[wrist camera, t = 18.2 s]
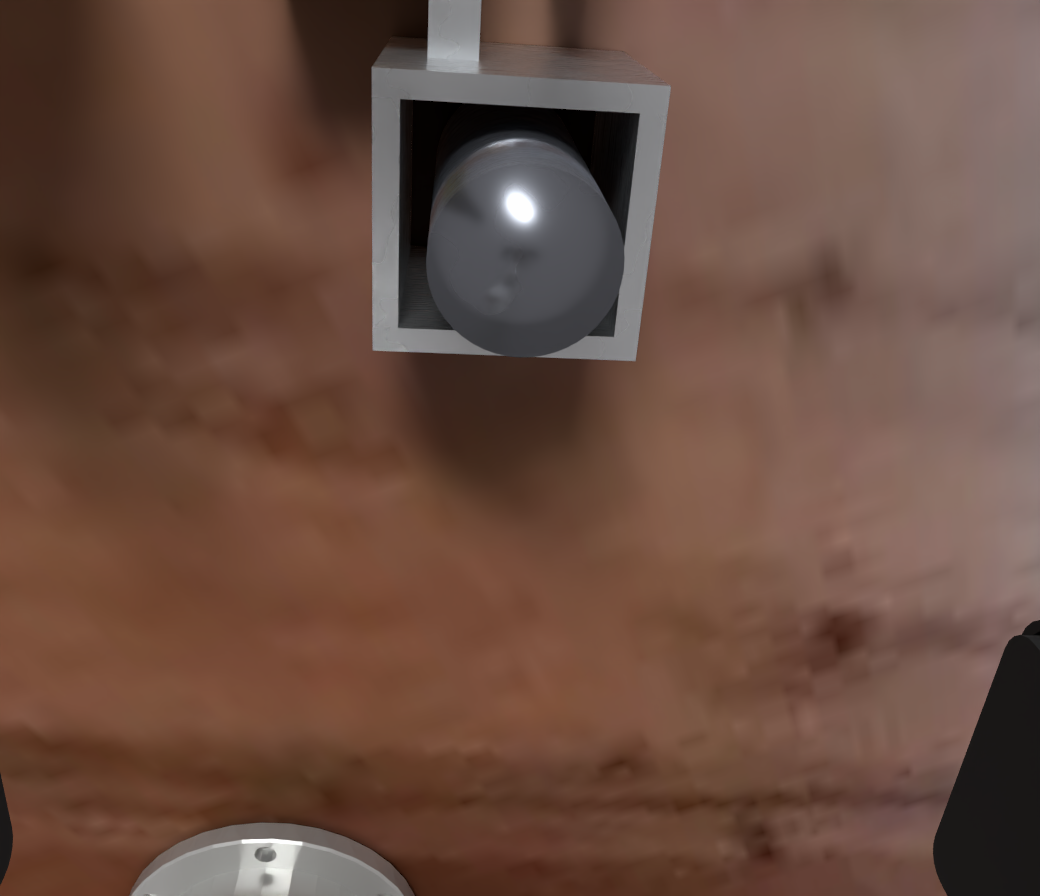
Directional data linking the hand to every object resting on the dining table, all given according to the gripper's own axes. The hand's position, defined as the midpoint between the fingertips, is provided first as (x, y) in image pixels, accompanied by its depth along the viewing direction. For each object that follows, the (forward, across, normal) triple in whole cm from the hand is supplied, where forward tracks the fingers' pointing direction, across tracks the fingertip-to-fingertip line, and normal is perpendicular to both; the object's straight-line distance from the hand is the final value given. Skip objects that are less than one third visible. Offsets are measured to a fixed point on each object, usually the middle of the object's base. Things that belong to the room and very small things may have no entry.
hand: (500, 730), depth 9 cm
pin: (+22, -1, -1) cm, 22 cm away
